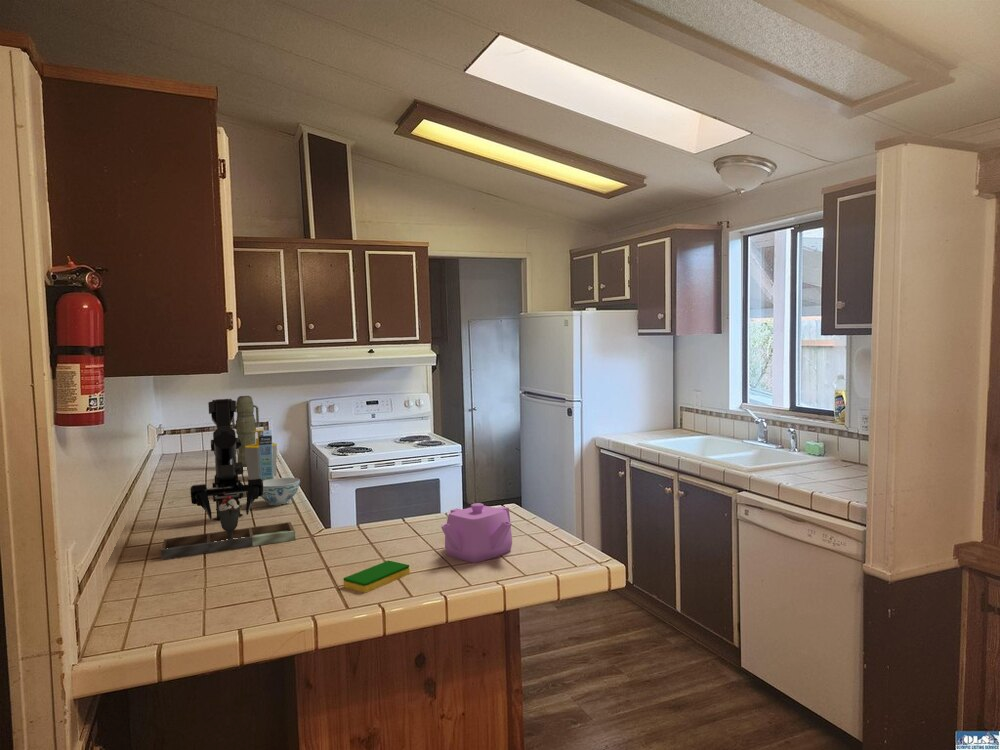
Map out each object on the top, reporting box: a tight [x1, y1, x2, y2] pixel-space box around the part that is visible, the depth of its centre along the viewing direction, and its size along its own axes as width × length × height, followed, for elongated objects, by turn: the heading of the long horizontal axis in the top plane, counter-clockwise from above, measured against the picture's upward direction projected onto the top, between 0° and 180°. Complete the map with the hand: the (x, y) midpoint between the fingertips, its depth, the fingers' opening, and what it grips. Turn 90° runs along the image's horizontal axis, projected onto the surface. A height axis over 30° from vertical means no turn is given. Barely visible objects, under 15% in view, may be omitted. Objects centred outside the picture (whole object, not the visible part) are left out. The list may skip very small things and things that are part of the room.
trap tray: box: [160, 521, 296, 560], centre depth 176 cm, size 33×12×2 cm, turn 114°
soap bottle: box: [245, 429, 278, 479], centre depth 276 cm, size 13×13×21 cm
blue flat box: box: [259, 429, 274, 481], centre depth 248 cm, size 20×5×23 cm, turn 20°
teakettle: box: [440, 502, 513, 564], centre depth 159 cm, size 17×17×12 cm
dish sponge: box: [343, 560, 410, 593], centre depth 142 cm, size 7×14×2 cm, turn 144°
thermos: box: [231, 395, 260, 467], centre depth 304 cm, size 9×12×35 cm
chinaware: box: [260, 477, 301, 506], centre depth 225 cm, size 15×15×8 cm
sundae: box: [215, 492, 242, 540], centre depth 176 cm, size 7×7×15 cm
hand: (229, 516), depth 174 cm, fingers open, 9 cm apart
